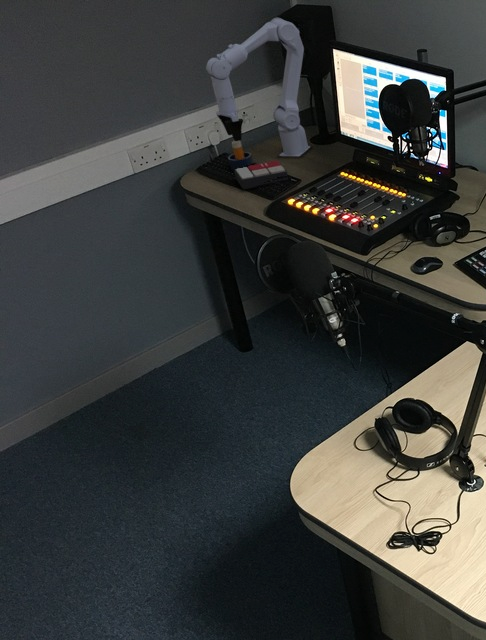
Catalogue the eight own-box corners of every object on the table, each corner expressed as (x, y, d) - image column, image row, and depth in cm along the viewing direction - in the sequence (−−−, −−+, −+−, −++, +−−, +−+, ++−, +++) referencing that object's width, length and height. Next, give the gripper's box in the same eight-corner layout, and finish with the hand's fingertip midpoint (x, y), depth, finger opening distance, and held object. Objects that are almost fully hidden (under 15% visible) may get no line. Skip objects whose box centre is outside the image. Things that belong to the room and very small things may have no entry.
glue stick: (240, 164, 291) (234, 140, 286) (248, 164, 291) (241, 140, 286) (236, 167, 289) (229, 143, 284) (244, 167, 288) (237, 143, 283)
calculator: (286, 169, 276) (240, 177, 270) (289, 181, 278) (243, 190, 272) (278, 159, 284) (233, 167, 278) (280, 171, 286) (235, 179, 280)
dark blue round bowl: (237, 162, 294) (235, 151, 292) (258, 163, 292) (255, 152, 290) (226, 171, 288) (223, 160, 286) (247, 171, 286) (244, 160, 284)
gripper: (206, 94, 280) (217, 134, 287) (219, 104, 269) (229, 145, 277) (227, 90, 282) (237, 130, 290) (240, 100, 272) (250, 141, 280)
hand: (234, 137), depth 284 cm, fingers open, 7 cm apart
